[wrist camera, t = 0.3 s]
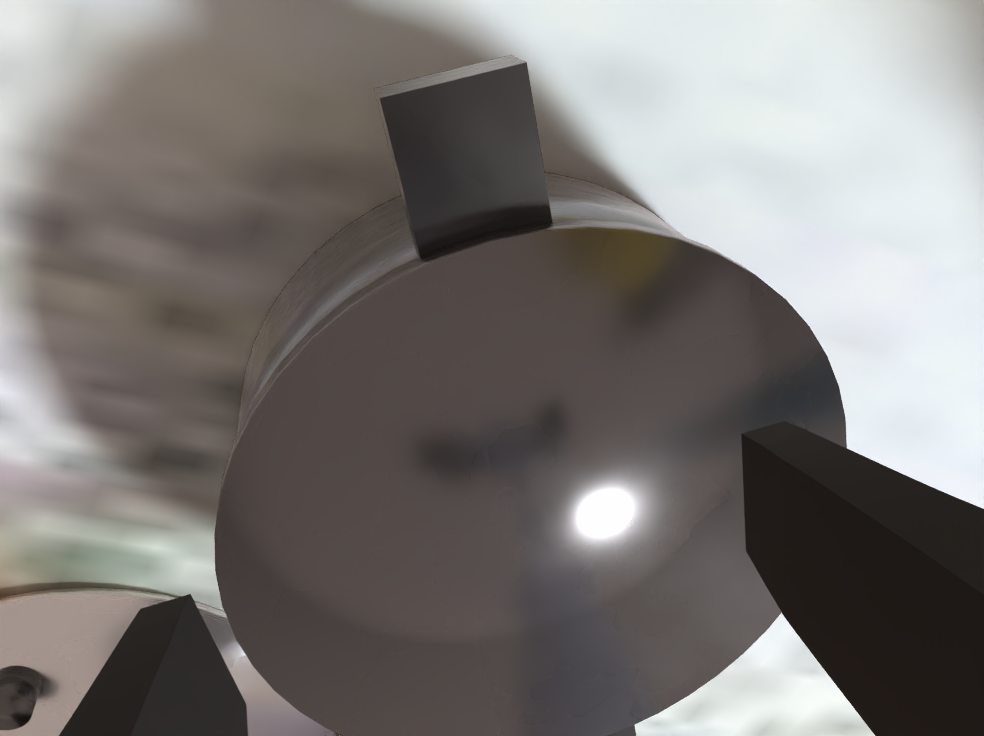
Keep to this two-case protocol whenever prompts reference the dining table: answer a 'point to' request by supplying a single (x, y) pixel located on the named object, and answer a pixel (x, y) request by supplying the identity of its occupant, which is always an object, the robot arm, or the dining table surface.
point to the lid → (105, 659)
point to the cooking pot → (504, 445)
